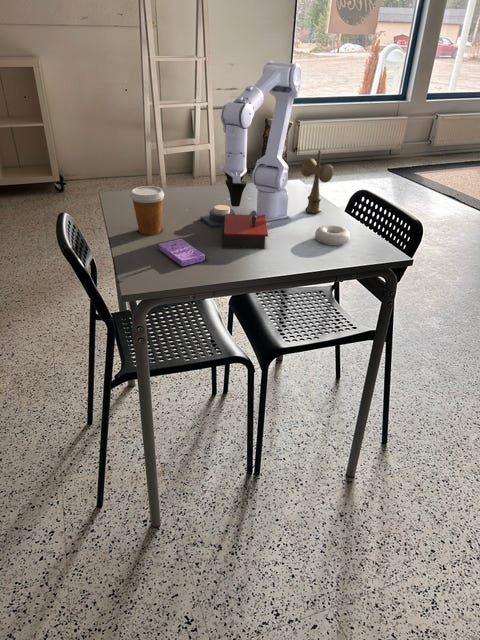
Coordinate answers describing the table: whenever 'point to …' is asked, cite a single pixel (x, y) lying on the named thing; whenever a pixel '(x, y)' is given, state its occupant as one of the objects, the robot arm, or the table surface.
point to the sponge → (182, 252)
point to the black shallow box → (244, 242)
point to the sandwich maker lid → (245, 225)
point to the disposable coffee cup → (148, 208)
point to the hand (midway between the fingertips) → (234, 201)
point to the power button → (221, 209)
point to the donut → (332, 235)
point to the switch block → (215, 218)
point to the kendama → (316, 181)
